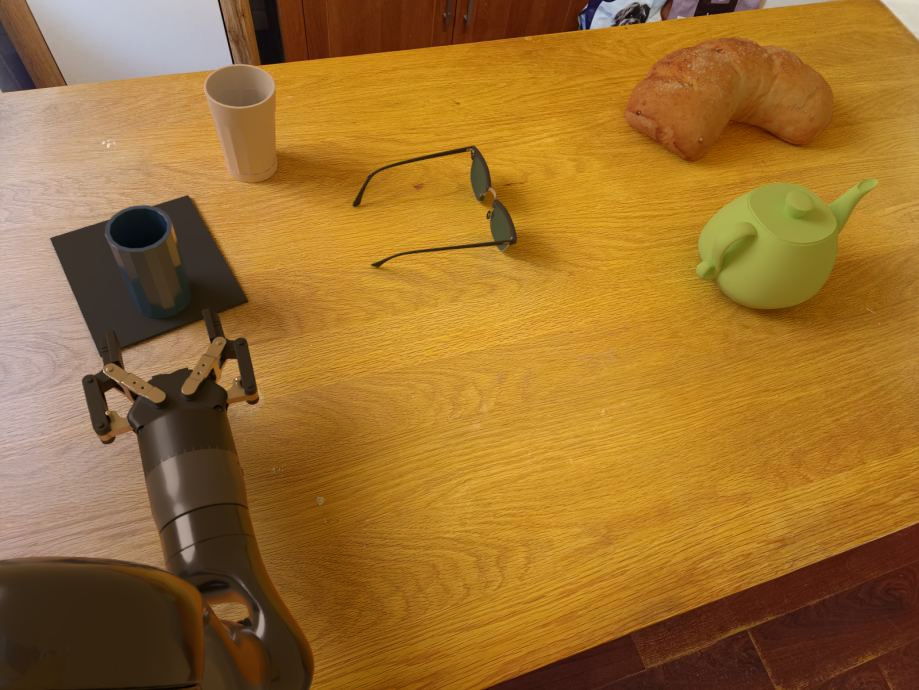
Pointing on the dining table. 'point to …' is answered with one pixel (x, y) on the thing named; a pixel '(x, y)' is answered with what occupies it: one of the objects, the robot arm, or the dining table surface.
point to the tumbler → (149, 260)
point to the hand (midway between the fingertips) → (160, 324)
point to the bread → (729, 95)
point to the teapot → (775, 243)
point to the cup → (244, 119)
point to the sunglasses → (481, 185)
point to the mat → (107, 291)
